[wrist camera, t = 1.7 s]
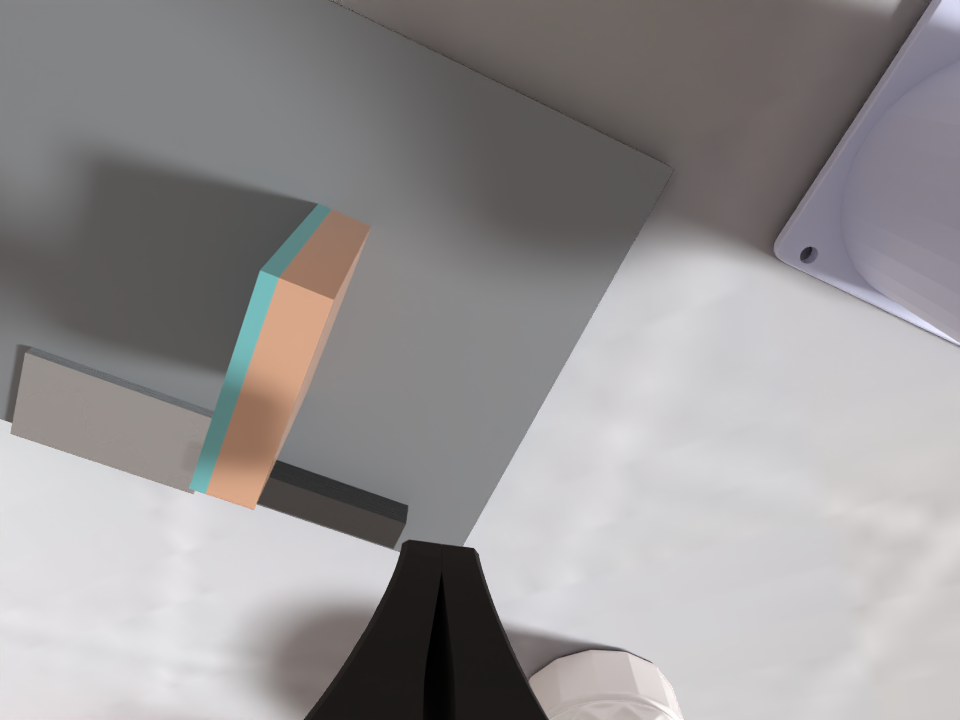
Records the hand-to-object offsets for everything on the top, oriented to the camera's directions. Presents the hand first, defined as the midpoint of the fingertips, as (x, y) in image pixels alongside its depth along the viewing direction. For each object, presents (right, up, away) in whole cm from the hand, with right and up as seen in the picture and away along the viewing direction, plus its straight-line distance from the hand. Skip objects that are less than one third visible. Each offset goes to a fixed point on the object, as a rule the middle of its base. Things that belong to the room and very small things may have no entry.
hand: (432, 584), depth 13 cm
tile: (-4, +6, +8) cm, 11 cm away
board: (-5, +7, +8) cm, 12 cm away
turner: (-8, +1, +10) cm, 13 cm away
